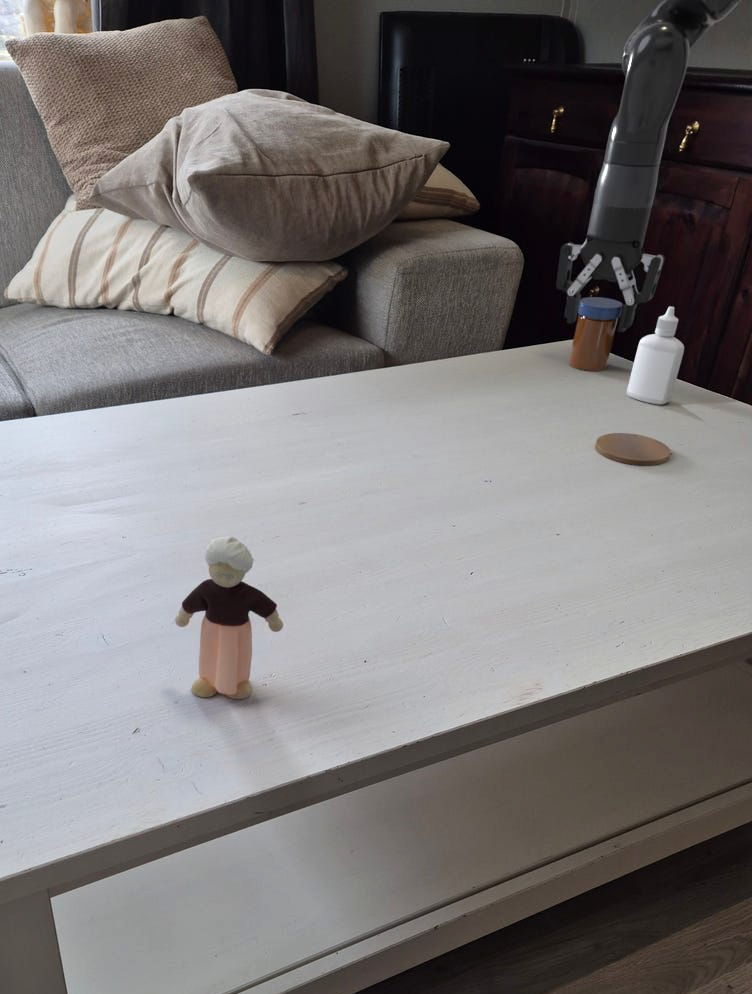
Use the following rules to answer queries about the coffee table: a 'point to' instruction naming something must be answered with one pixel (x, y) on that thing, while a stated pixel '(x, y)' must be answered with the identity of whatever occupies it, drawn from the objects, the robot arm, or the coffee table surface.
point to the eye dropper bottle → (657, 363)
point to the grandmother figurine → (226, 620)
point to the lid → (600, 308)
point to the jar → (592, 343)
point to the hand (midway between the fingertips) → (596, 326)
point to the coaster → (632, 449)
